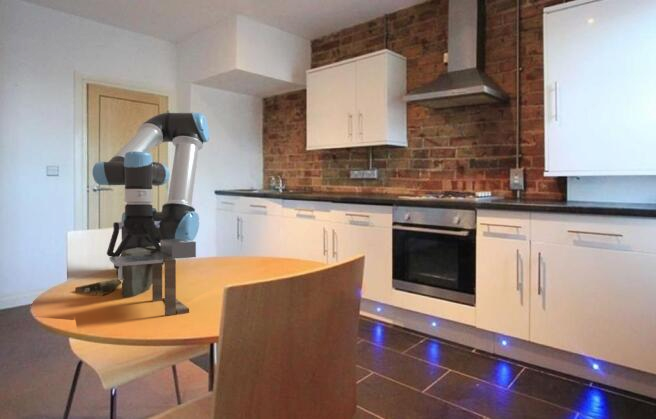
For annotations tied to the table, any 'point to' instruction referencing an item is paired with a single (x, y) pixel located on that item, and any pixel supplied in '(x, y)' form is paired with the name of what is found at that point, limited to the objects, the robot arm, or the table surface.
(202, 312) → the table surface
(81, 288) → the rock
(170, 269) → the frame
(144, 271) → the marble piece
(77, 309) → the table surface
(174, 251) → the trapdoor
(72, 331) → the table surface
